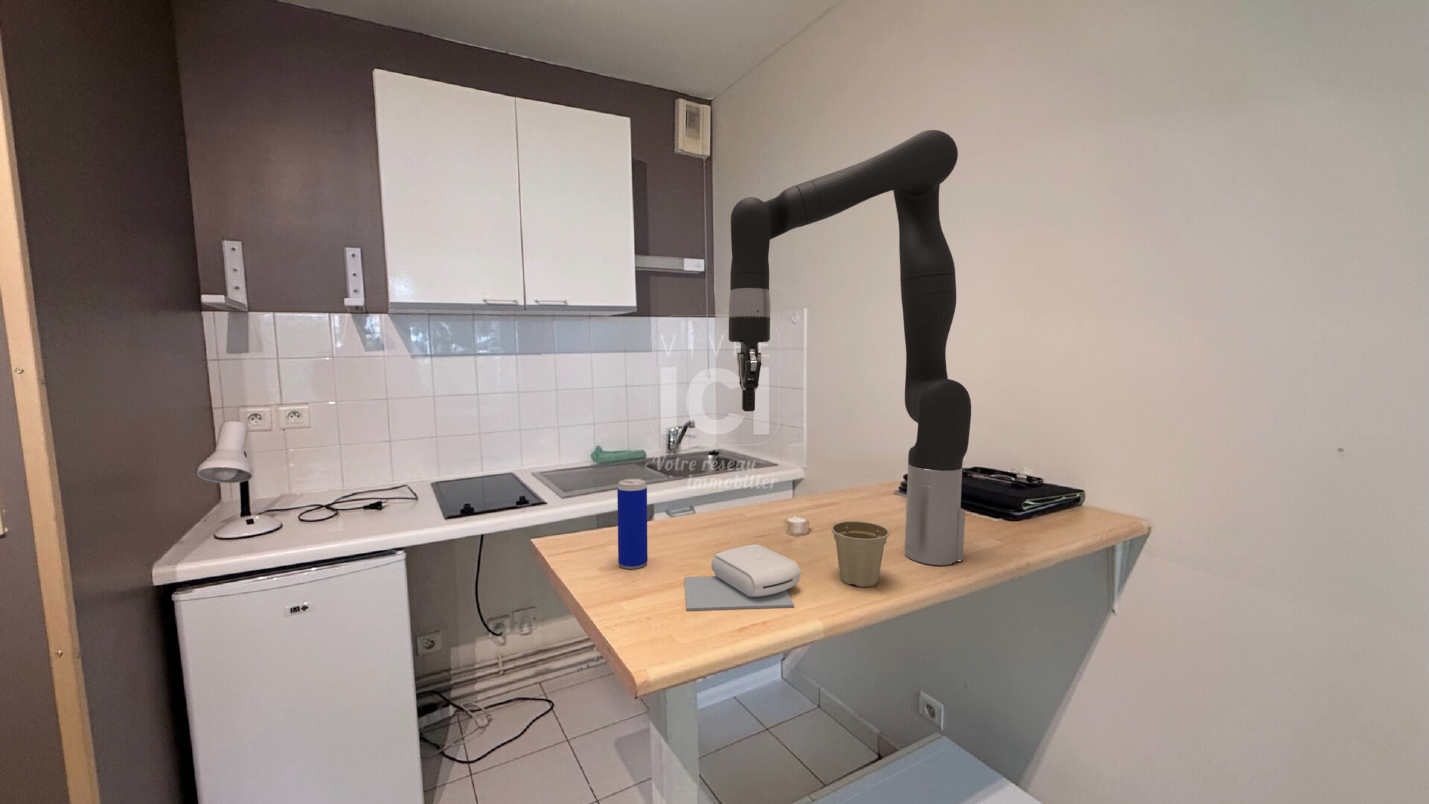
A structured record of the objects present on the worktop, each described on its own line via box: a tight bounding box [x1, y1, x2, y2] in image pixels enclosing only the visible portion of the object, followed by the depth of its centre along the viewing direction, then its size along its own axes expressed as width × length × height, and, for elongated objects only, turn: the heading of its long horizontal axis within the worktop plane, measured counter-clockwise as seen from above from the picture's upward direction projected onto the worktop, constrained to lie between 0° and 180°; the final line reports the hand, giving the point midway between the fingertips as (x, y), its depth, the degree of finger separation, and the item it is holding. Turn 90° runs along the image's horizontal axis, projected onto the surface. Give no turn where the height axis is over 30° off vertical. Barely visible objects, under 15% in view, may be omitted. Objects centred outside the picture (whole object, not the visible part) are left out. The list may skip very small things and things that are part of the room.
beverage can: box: [616, 478, 649, 570], centre depth 95 cm, size 5×5×15 cm
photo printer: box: [711, 544, 802, 597], centre depth 87 cm, size 10×4×12 cm
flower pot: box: [830, 520, 891, 588], centre depth 90 cm, size 9×9×9 cm
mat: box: [684, 575, 795, 612], centre depth 85 cm, size 16×11×1 cm
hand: (748, 410), depth 99 cm, fingers closed
